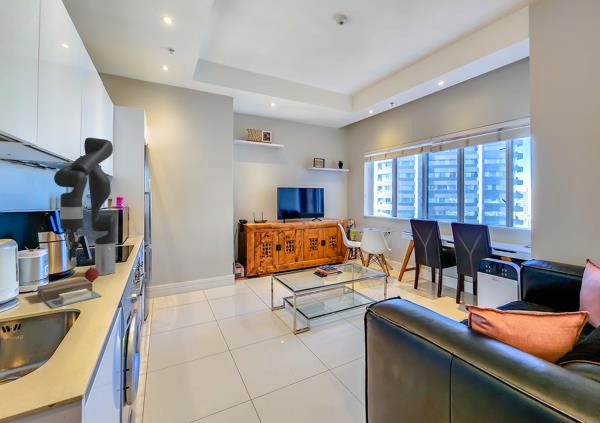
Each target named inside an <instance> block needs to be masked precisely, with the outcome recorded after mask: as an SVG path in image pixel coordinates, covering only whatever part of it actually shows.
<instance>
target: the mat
mask: <svg viewBox="0 0 600 423" xmlns="http://www.w3.org/2000/svg"><path fill="white" fill-rule="evenodd" d="M101 297H102V295H101V294H99V293H98V292H96V291H94V290H92V291H91V298H86V299H82V300H78V301H74V302H69V303H65V304H63V303H62V302H61V301H59V298H57V299H53V300H48V301H45V303H46V304H47V305H48V306H49V307H50V308H51V309H52V308H53V309H57V308H60V307H65V306H68V305H72V304H76V303H77V304H78V303H81V302H85V301H90V300H94V299H97V298H98V299H99V298H101ZM56 307H57V308H56Z"/></svg>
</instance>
